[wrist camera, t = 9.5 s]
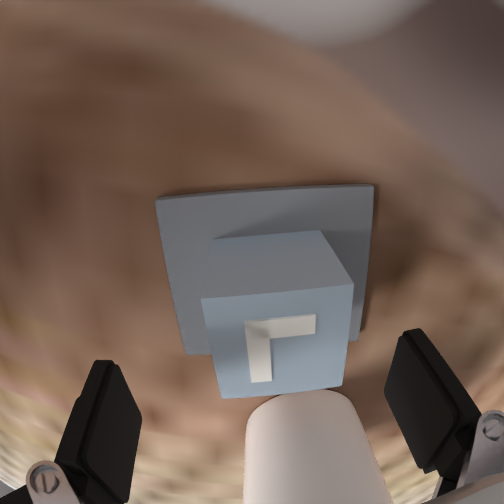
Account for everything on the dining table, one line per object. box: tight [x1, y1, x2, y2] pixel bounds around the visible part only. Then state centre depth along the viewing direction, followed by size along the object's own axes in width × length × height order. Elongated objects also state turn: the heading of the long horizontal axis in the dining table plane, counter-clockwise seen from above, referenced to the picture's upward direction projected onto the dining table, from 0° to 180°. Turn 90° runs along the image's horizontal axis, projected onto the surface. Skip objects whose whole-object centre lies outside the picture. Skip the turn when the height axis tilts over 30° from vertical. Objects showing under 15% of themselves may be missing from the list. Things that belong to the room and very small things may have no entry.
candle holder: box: [243, 389, 394, 504], centre depth 16 cm, size 10×10×12 cm
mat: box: [155, 184, 374, 355], centre depth 16 cm, size 10×9×1 cm
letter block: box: [201, 230, 354, 399], centre depth 13 cm, size 5×5×5 cm
